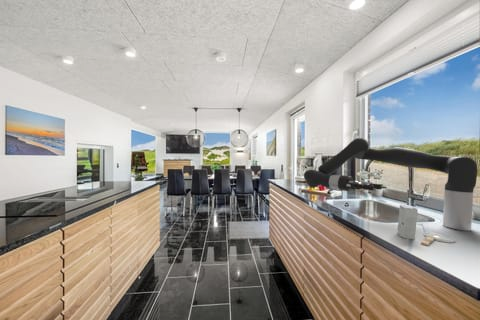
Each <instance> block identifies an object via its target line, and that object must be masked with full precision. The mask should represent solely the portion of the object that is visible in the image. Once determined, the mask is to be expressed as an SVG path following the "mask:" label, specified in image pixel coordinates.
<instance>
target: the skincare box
mask: <svg viewBox="0 0 480 320" xmlns="http://www.w3.org/2000/svg"><path fill="white" fill-rule="evenodd" d="M417 220H418V208H416V207H414V206H413V205H407V204H399V210H398V224H397V233H398V235H399V236H400V238H404V239H408V240H409V239H410V240H416V232H417V231H416V230H417V222H418V221H417Z"/></svg>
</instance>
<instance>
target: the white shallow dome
mask: <svg viewBox="0 0 480 320" xmlns="http://www.w3.org/2000/svg"><path fill="white" fill-rule="evenodd" d="M423 236H424V237H425V238H426V237H432V238H435V240H434V241H437V242H440V243H448V244H451V243H452V244H453V243H456V239H455V238H454V237H452V236H449V235H445V234H442V233H437V232H427V231H426V232H423Z"/></svg>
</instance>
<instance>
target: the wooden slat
mask: <svg viewBox="0 0 480 320" xmlns="http://www.w3.org/2000/svg"><path fill="white" fill-rule="evenodd" d="M434 241H436V240H435V238H432V237H425V238H424V239H423V240H421V242H420V245H423V246H427V247H429V246H430V245H431V244H432V243H434Z"/></svg>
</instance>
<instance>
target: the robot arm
mask: <svg viewBox="0 0 480 320" xmlns="http://www.w3.org/2000/svg"><path fill="white" fill-rule="evenodd" d="M351 158H353V159H356V160H365V161H374V162H375V161H376V162H381V163H387V164H391V165H396V166H401V167H408V168H415V169H425V170H433V171H437V172H440V173H444V174H447V175H448V176H447V181H446V183H445V184H444V195H443V198H444V199H443V212H442V213H443V215H442V226H444V227H446V228H449V229H454V230H459V231H467V232H470V231H472V224H473V222H472V220H473V206H474V191H475V188H476V185H477V180H478V179H477V178H478V165H477V162H476V161H475V160H474V159H473V158H471V157H469V156H447V155H446V156H444V155H437V154H436V155H435V154H431V153H428V152H424V151H421V150H417V149H412V148H407V147H398V146H397V147H388V148H372V147H370V144H369V141H368V140H367V139H366V138H363V137H358V138H355V139H353V140H352V141H351V142H350V143H348V144H347V145H346V146H345V147H344V148H343V149H342V150H340V151H339V152H338V153H337V154H335V155H334V156H333V157H331V158H330V159H328V160H326V161H325V162H324V163H322V164H321V165H320V166H318V168H317V170H316V169H309V170H305V172H304V173H303V178H304V179H305V182H306V183H307V185H308V187H309V188H313V189H315V188H317V187H319V186H321V187H324V188H327V189H333V190H338V191H343V192H351V191H352V190H358V191H359V190H361V191H364V190H365V191H371V192H373V191H374V189H376V190H382V184H379V183H373V182H371V181H369V182H368V181H366V180H365V181H364V180H363V181H362V180H357V179H356V180H354V178H353V177H352V176H351V175H341V174H333V173H335V172H336V171H338V170H339V169H340V168H341V167H342V166H343V165H344V164H345V163H347V161H348V160H350V159H351Z"/></svg>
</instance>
